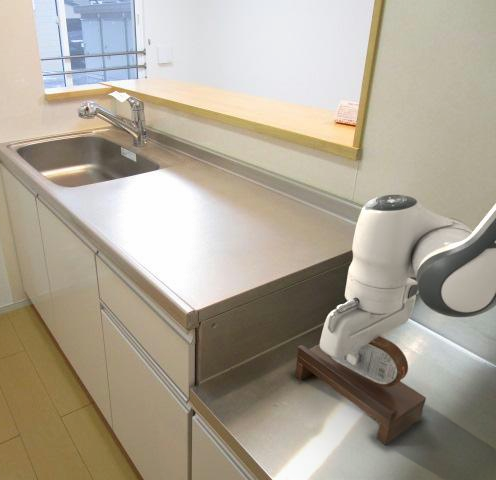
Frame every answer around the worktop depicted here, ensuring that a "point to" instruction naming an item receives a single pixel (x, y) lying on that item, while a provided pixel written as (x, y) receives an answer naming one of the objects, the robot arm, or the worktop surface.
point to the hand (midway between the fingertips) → (361, 357)
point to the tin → (378, 363)
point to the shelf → (365, 393)
